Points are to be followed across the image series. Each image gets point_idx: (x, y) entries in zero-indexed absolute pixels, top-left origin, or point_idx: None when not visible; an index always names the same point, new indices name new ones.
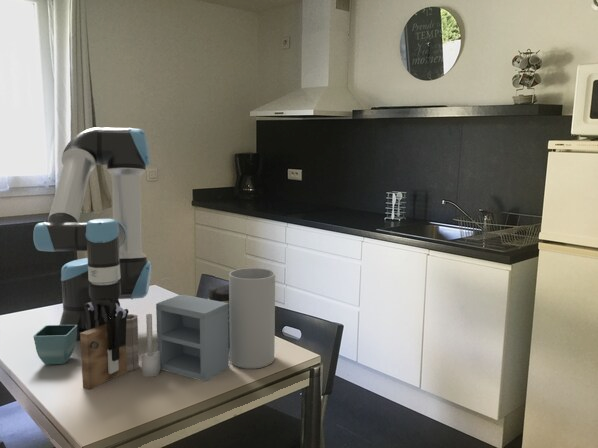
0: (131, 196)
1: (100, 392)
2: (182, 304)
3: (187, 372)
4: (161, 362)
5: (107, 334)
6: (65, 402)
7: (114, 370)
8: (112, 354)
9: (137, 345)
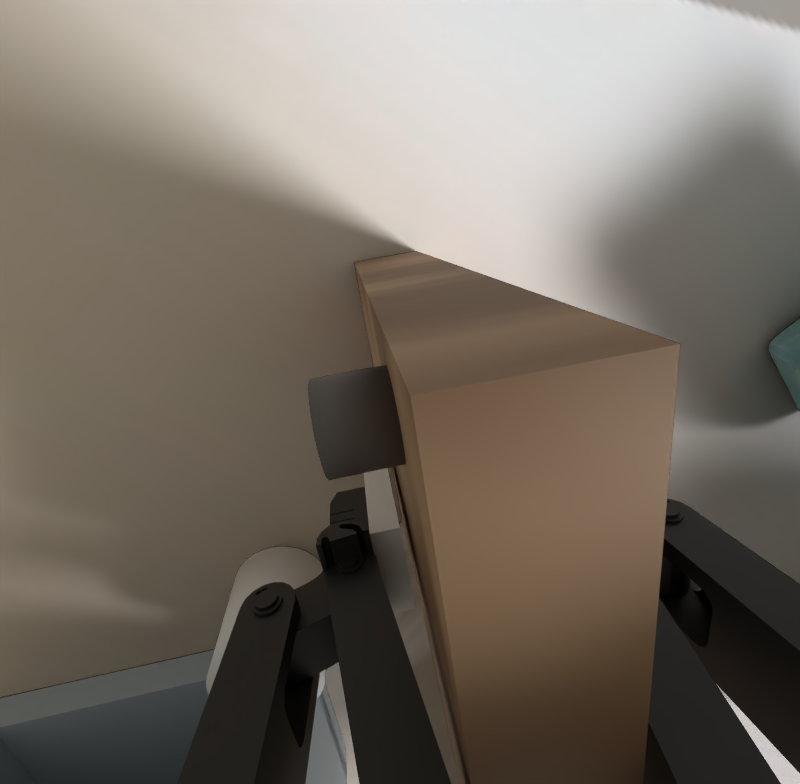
0: None
1: (267, 285)
2: None
3: (93, 696)
4: None
5: (444, 676)
6: (303, 33)
7: None
8: (362, 520)
9: None
